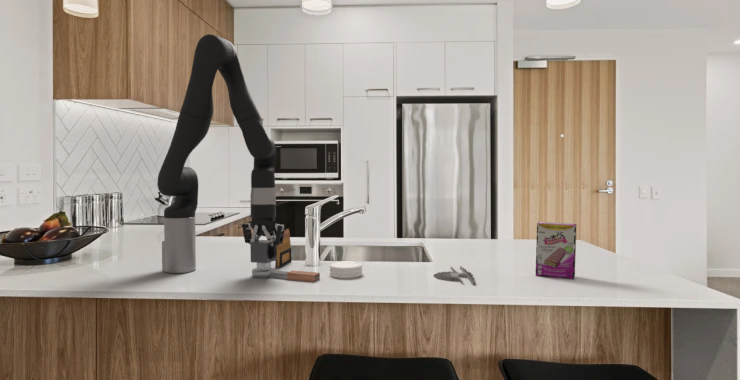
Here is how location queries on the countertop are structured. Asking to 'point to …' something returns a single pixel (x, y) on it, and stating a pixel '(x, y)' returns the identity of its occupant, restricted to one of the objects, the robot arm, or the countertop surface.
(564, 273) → the candy bar box
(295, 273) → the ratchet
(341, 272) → the coaster
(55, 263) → the countertop surface
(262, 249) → the socket
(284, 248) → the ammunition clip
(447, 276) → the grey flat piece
